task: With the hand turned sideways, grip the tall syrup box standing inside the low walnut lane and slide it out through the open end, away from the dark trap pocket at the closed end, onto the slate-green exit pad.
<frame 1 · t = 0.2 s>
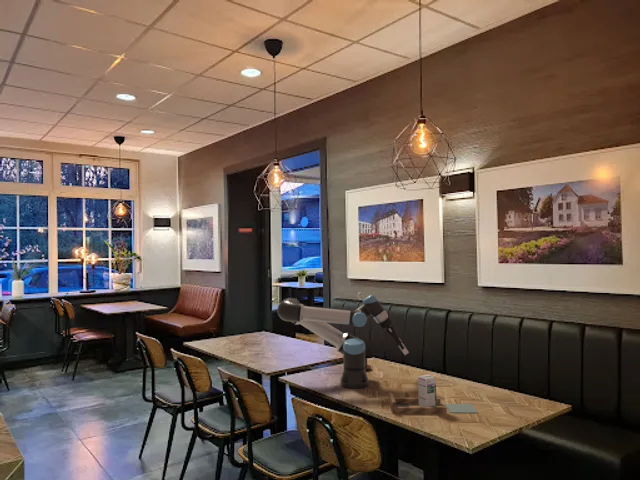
hand: (405, 351, 276), 15 cm above the table, tool tilted 35°, fingers open, 13 cm apart
cup and saucer: (361, 369, 299), on the table
syrup box: (427, 408, 224), on the table
exit pad: (461, 408, 223), on the table
walnut lane: (423, 408, 224), on the table
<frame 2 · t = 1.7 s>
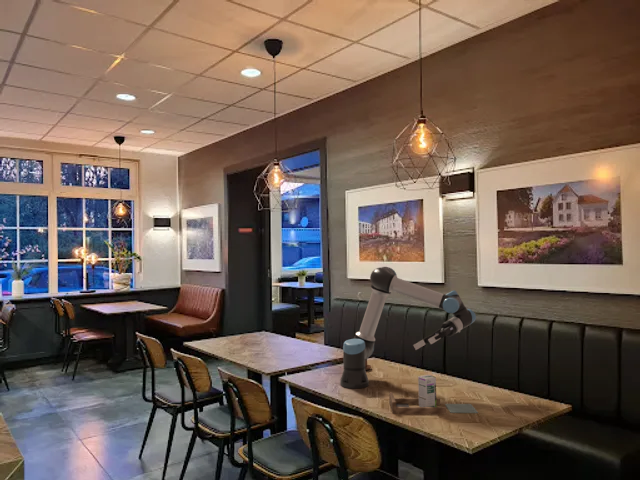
hand: (422, 344, 242), 25 cm above the table, tool tilted 70°, fingers open, 13 cm apart
nothing on the table moved.
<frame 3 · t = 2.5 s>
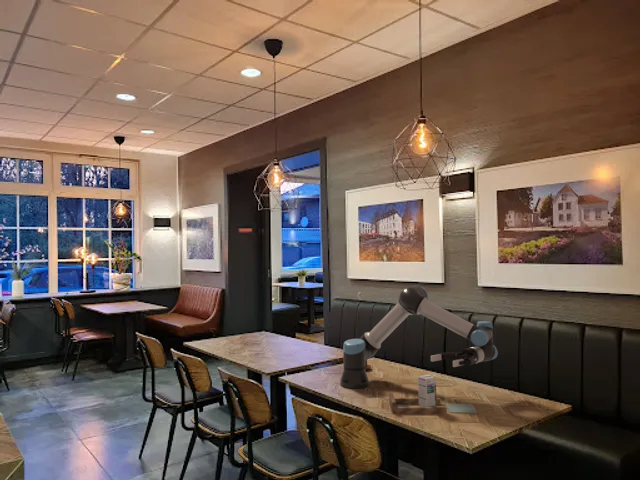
hand: (441, 361, 230), 20 cm above the table, tool horizontal, fingers open, 13 cm apart
nothing on the table moved.
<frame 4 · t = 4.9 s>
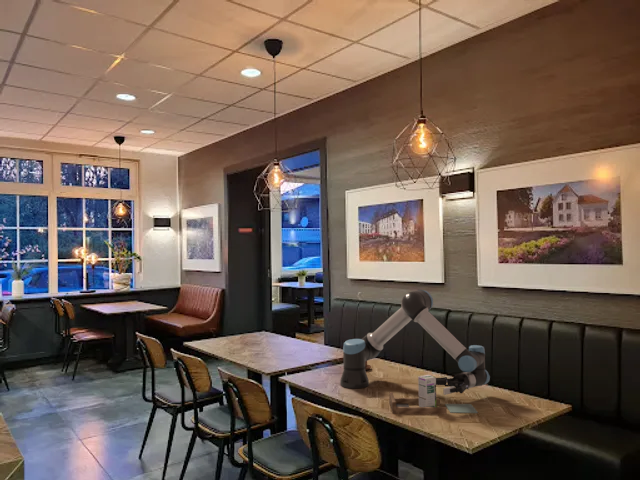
hand: (432, 388, 225), 9 cm above the table, tool horizontal, fingers open, 13 cm apart
nothing on the table moved.
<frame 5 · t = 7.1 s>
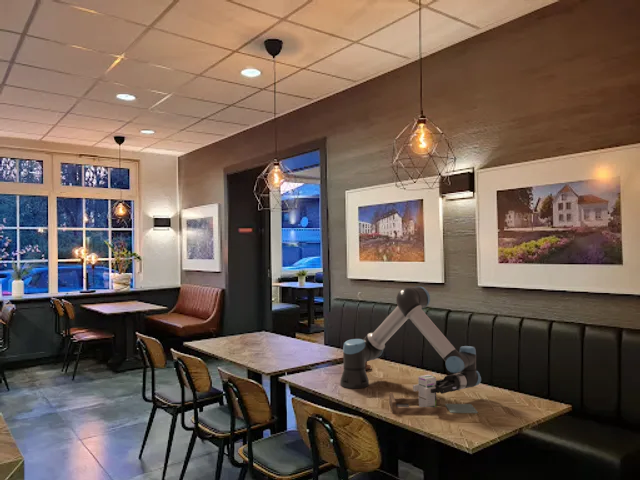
hand: (419, 390, 221), 9 cm above the table, tool horizontal, fingers closed on syrup box, 6 cm apart
syrup box: (427, 408, 224), on the table, touching gripper
everything else where it was.
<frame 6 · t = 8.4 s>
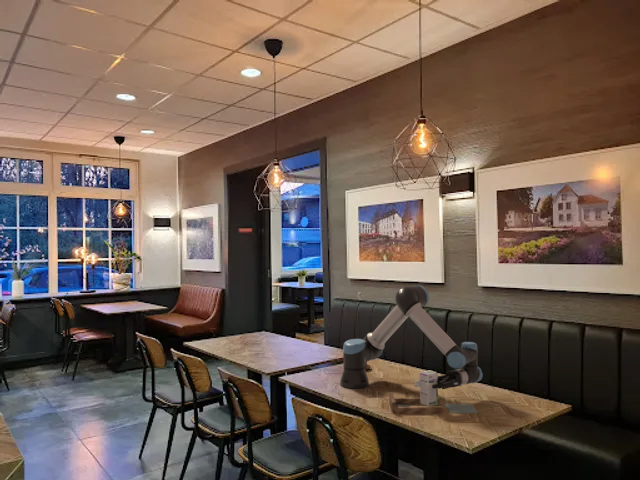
hand: (420, 385, 221), 11 cm above the table, tool horizontal, fingers closed on syrup box, 6 cm apart
syrup box: (429, 404, 224), point 2 cm above the table, touching gripper
everything else where it was.
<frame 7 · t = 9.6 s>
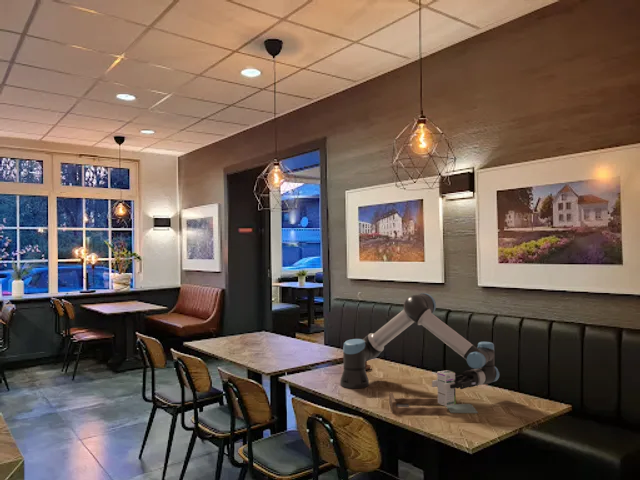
hand: (438, 385, 220), 11 cm above the table, tool horizontal, fingers closed on syrup box, 6 cm apart
syrup box: (446, 404, 223), point 2 cm above the table, touching gripper
everything else where it was.
when the fingers open (10 cm above the table, at t = 12.0 s): syrup box stays where it is, resting on exit pad.
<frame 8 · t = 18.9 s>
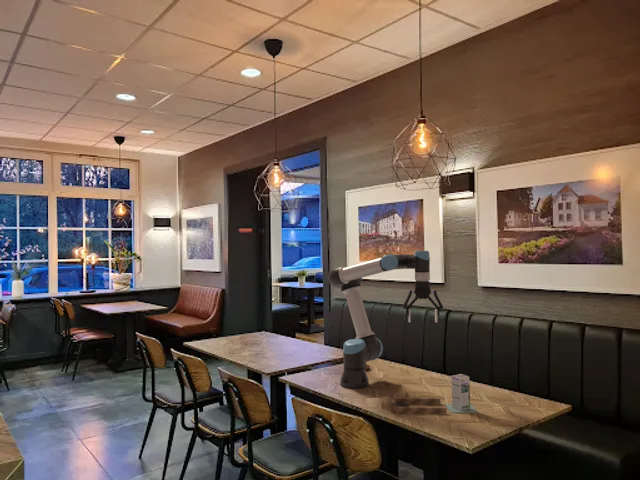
hand: (422, 322, 253), 35 cm above the table, tool pointing down, fingers open, 13 cm apart
syrup box: (460, 408, 223), resting on exit pad
everything else where it was.
at the end: syrup box inside the target area on the exit pad (0.1 cm from its centre), point 0.1 cm above the exit pad's base; syrup box tilted 0°; the gripper is holding nothing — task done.
